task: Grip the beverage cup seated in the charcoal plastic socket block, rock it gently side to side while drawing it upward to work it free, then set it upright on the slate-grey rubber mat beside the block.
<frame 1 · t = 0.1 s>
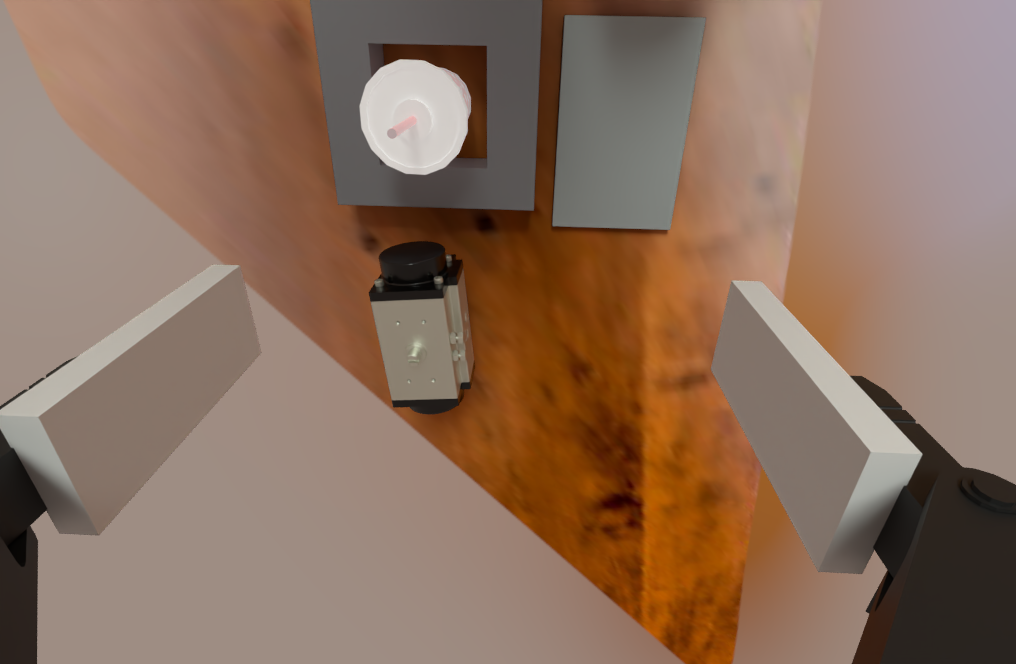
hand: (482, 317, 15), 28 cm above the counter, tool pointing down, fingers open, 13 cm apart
rubber mat: (620, 130, 38), on the counter
pneumatic valve: (447, 284, 45), on the counter
socket block: (439, 103, 38), on the counter
beverage cup: (439, 103, 38), resting in socket block
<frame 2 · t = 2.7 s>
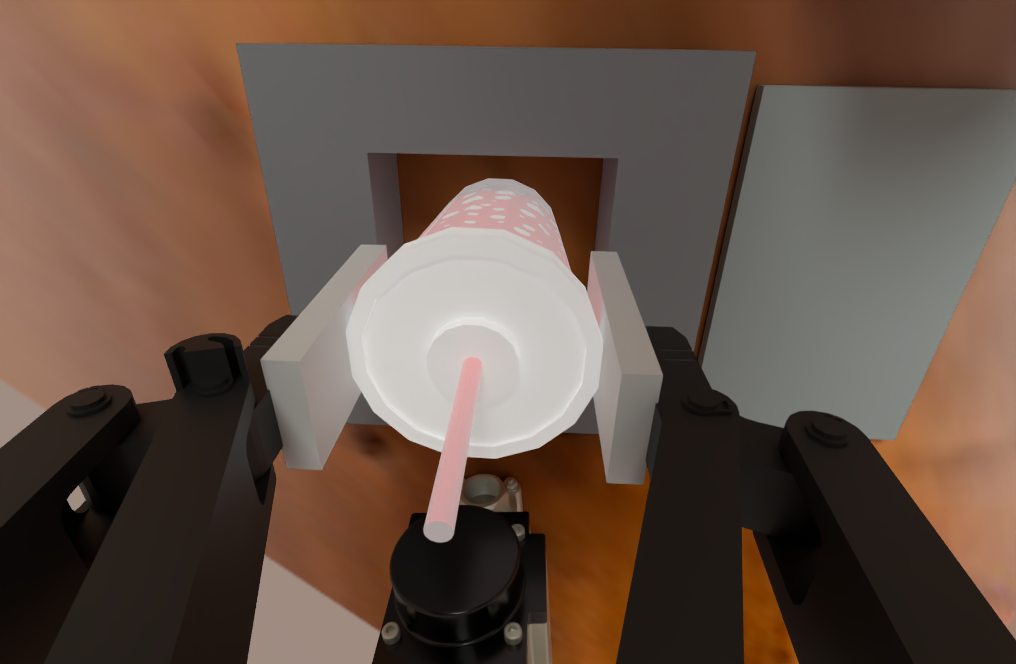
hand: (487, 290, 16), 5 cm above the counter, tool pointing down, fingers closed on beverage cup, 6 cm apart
rubber mat: (832, 284, 21), on the counter
pneumatic valve: (498, 499, 27), on the counter
socket block: (498, 238, 20), on the counter
beverage cup: (499, 236, 21), resting in socket block, touching gripper
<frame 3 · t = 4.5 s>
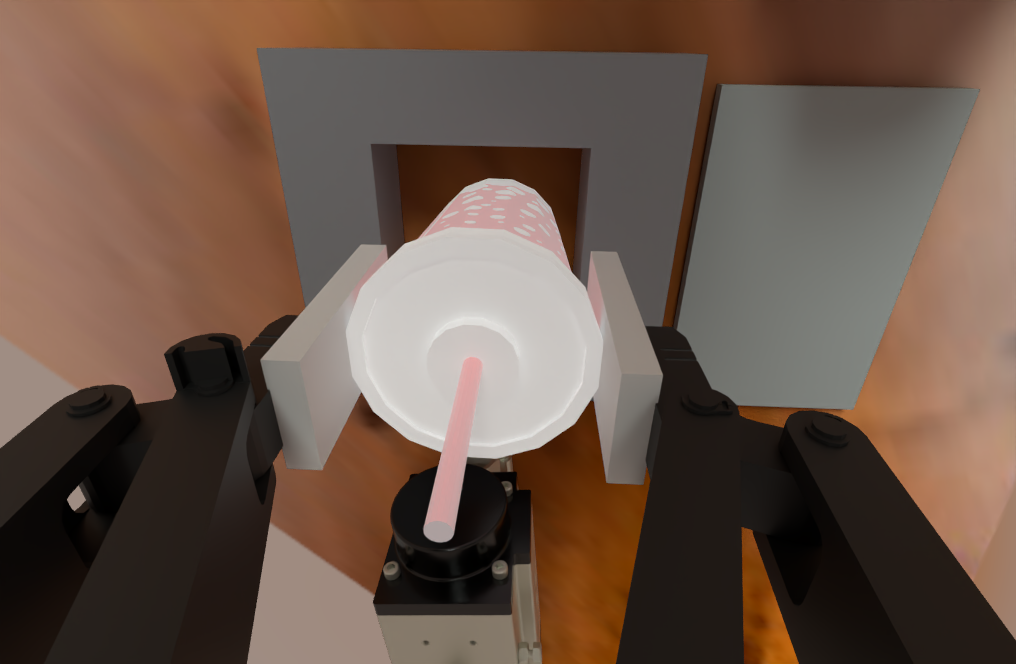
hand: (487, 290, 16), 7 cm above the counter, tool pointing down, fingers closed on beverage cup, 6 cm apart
rubber mat: (790, 265, 23), on the counter
pneumatic valve: (490, 469, 29), on the counter
socket block: (488, 223, 23), on the counter
beverage cup: (499, 236, 21), point 2 cm above the counter, touching gripper
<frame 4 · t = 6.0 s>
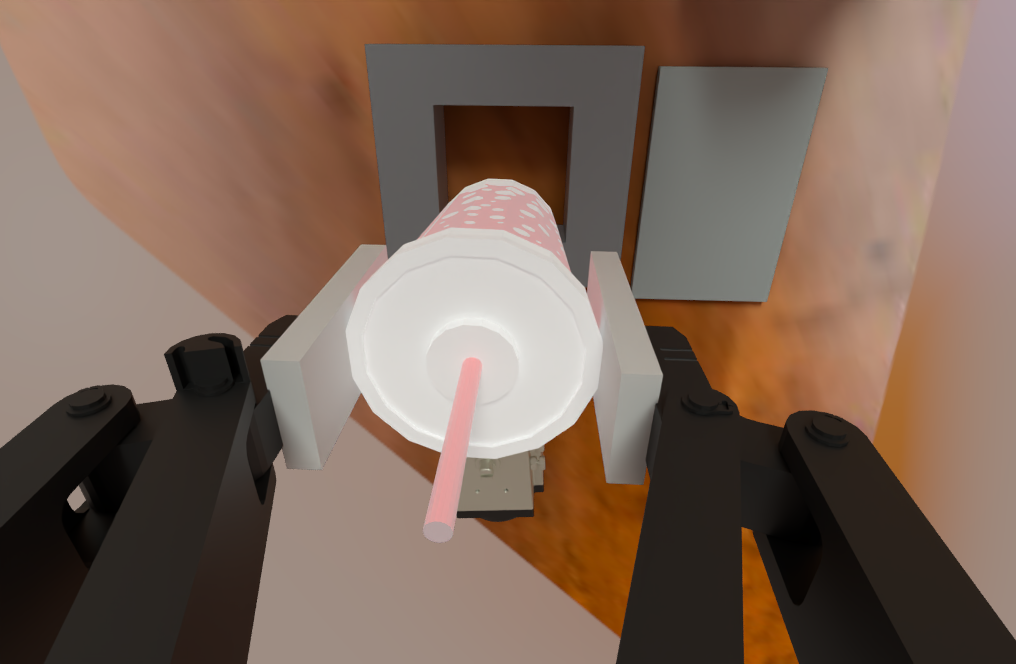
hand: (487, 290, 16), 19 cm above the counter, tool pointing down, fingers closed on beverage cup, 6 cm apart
rubber mat: (716, 193, 33), on the counter
pneumatic valve: (505, 358, 40), on the counter
socket block: (506, 164, 33), on the counter
beverage cup: (498, 236, 21), point 14 cm above the counter, touching gripper
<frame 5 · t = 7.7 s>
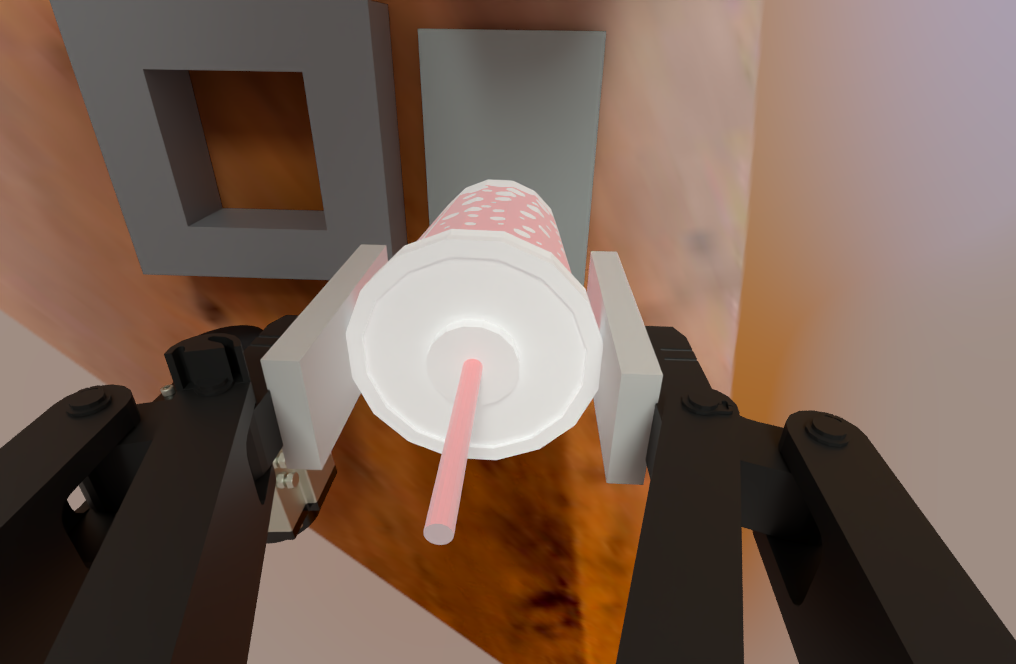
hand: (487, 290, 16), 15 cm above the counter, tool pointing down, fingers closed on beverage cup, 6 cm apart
rubber mat: (509, 176, 29), on the counter
pneumatic valve: (315, 360, 36), on the counter
socket block: (272, 142, 29), on the counter
beverage cup: (499, 237, 21), point 10 cm above the counter, touching gripper
when the fingers open (7 cm above the counter, at t = 9.4 s): beverage cup drops 1 cm, resting on rubber mat.
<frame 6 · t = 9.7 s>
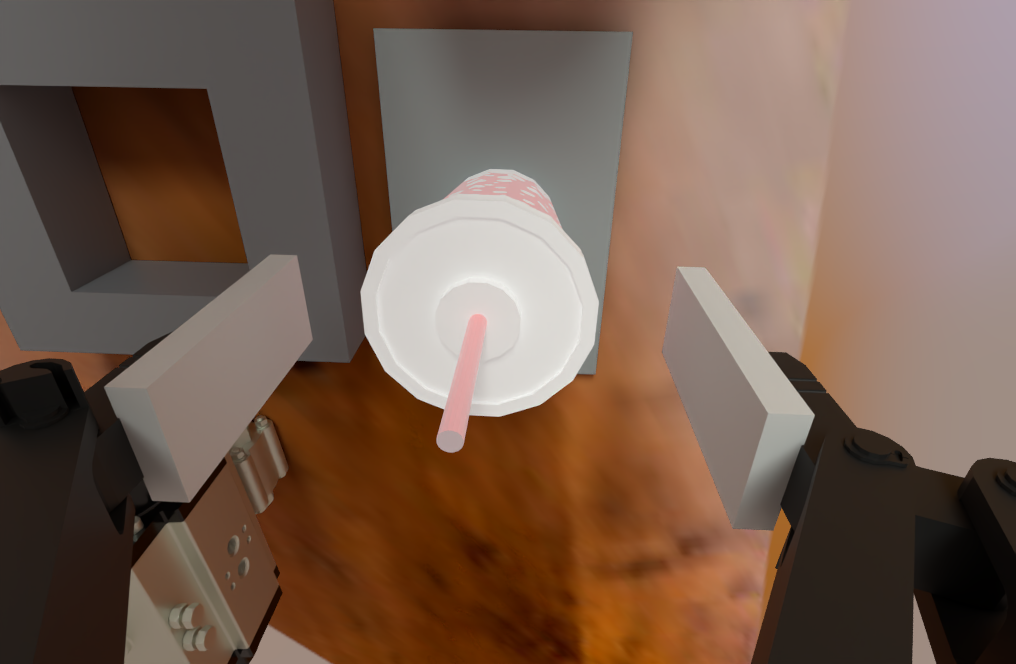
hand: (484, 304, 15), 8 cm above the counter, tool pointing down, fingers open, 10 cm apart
rubber mat: (501, 222, 22), on the counter
pneumatic valve: (262, 440, 29), on the counter
socket block: (188, 178, 22), on the counter
beverage cup: (500, 225, 22), point 1 cm above the counter, touching rubber mat
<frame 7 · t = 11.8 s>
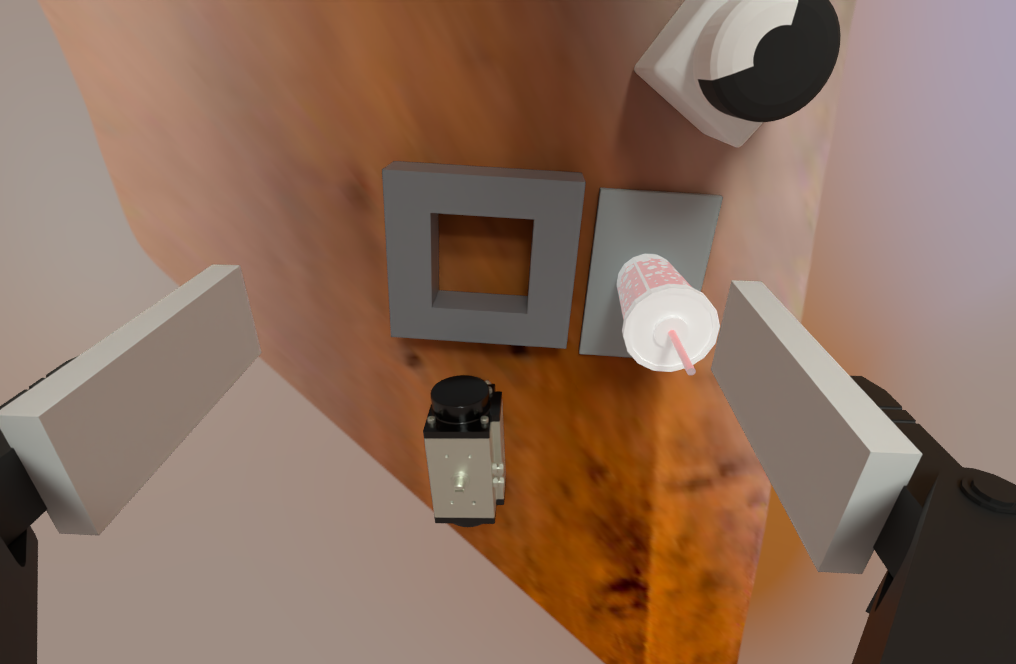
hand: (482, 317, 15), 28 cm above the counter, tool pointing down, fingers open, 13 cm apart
rubber mat: (644, 278, 43), on the counter
medicine bottle: (706, 57, 36), on the counter
pneumatic valve: (480, 395, 49), on the counter
socket block: (484, 250, 43), on the counter
beverage cup: (645, 280, 43), resting on rubber mat
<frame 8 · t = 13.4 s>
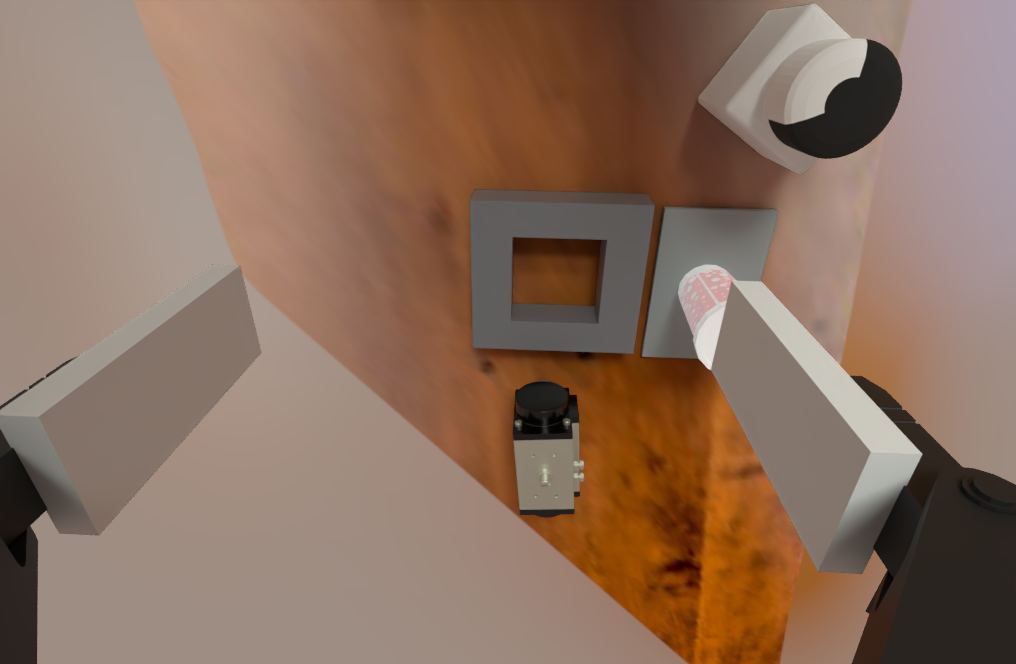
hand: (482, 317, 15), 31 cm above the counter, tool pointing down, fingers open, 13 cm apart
rubber mat: (703, 286, 47), on the counter
medicine bottle: (764, 86, 39), on the counter
pneumatic valve: (547, 396, 53), on the counter
socket block: (555, 266, 46), on the counter
beverage cup: (704, 288, 46), resting on rubber mat
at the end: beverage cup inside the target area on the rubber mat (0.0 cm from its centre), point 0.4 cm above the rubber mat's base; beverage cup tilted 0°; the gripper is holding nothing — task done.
